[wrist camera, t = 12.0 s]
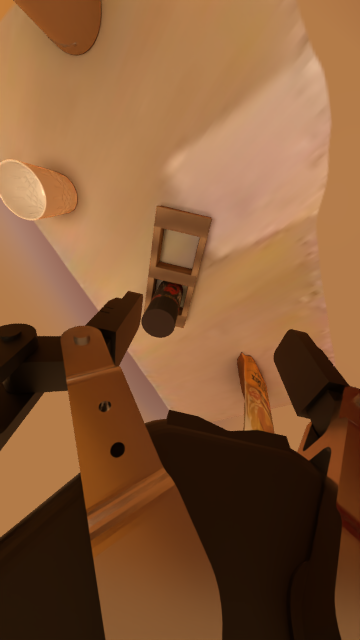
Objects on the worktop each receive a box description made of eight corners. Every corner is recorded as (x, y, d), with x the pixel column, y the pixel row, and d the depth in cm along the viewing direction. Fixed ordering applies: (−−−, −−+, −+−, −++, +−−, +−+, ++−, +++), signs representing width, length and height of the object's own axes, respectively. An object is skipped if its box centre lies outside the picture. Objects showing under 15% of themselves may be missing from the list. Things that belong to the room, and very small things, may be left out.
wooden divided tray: (160, 205, 38) (156, 206, 35) (211, 217, 38) (211, 219, 35) (147, 310, 51) (143, 318, 47) (185, 319, 51) (183, 328, 47)
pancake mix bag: (248, 395, 63) (274, 512, 39) (224, 353, 55) (239, 469, 31) (269, 389, 61) (310, 511, 37) (248, 345, 53) (283, 464, 29)
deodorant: (153, 287, 47) (134, 319, 34) (173, 273, 45) (160, 302, 32) (168, 305, 49) (156, 342, 36) (188, 293, 47) (181, 328, 34)
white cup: (61, 223, 42) (24, 229, 33) (33, 183, 38) (-16, 178, 30) (88, 203, 39) (56, 204, 31) (60, 159, 36) (15, 146, 27)
